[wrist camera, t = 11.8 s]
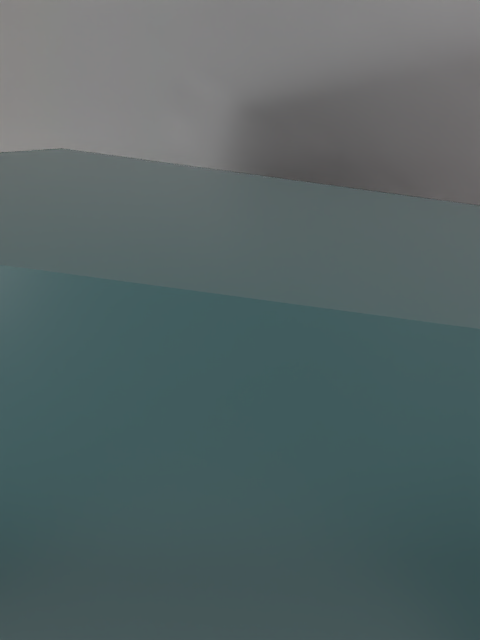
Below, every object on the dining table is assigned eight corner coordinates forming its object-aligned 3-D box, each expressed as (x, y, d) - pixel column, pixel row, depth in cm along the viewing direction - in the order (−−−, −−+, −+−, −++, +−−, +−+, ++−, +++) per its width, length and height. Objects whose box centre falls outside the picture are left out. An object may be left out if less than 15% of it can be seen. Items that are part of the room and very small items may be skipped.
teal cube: (381, 524, 15) (532, 1007, 7) (69, 484, 15) (-173, 923, 6) (485, 206, 11) (1164, 420, 3) (61, 148, 11) (-560, 189, 3)
